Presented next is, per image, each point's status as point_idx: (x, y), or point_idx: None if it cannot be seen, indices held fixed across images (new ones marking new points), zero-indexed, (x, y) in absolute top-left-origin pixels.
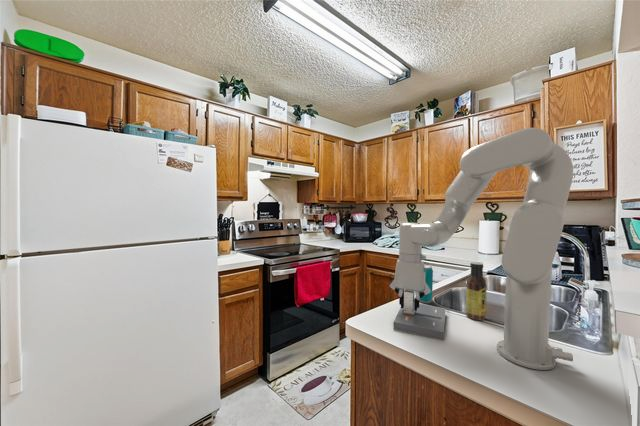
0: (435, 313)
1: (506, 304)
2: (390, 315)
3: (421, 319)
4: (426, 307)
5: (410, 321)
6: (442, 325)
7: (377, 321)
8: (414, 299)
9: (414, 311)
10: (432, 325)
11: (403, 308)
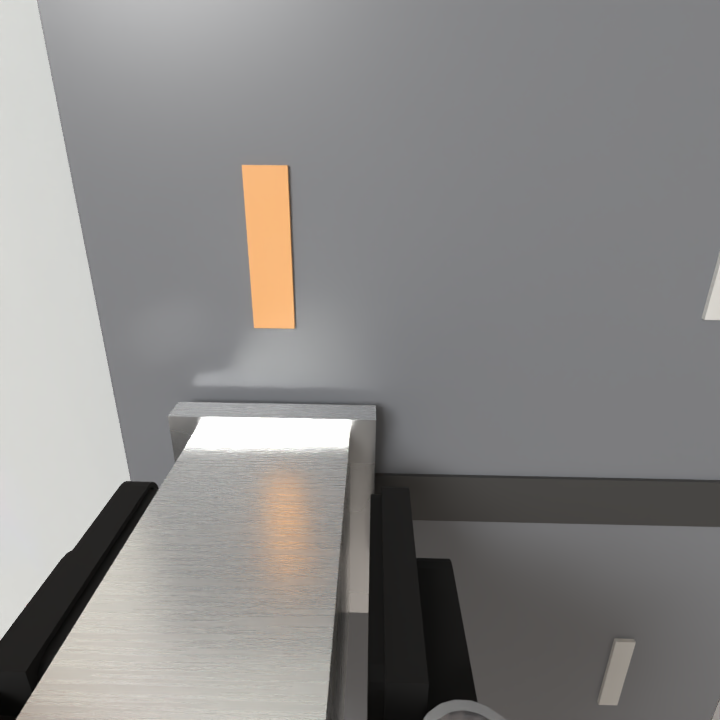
0: (702, 357)
1: None
2: (58, 420)
3: (470, 622)
4: (568, 127)
5: (348, 704)
6: (711, 673)
7: (12, 608)
8: (339, 575)
9: (367, 551)
10: (592, 706)
11: (165, 384)
